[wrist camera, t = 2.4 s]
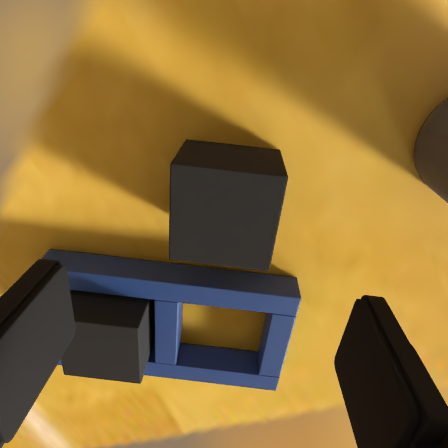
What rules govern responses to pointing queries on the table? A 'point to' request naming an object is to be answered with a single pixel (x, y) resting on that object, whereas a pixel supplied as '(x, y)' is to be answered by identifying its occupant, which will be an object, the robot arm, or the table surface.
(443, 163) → the bottle
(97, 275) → the frame
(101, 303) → the pad
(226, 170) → the pad
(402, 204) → the table surface
